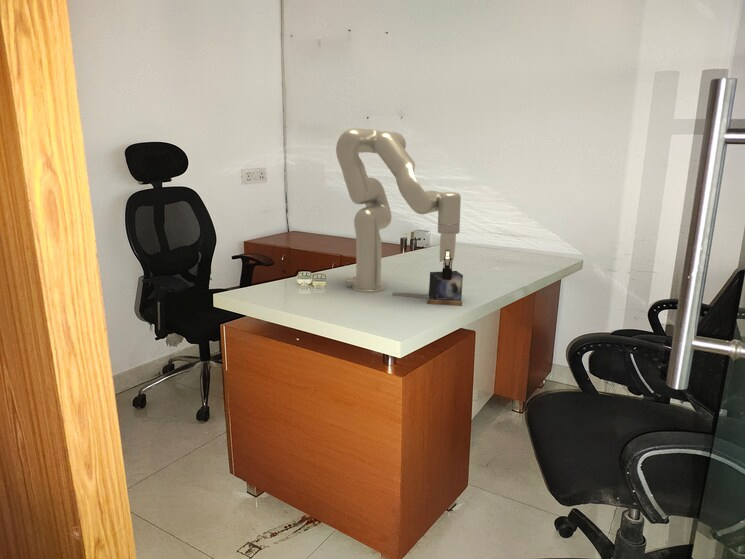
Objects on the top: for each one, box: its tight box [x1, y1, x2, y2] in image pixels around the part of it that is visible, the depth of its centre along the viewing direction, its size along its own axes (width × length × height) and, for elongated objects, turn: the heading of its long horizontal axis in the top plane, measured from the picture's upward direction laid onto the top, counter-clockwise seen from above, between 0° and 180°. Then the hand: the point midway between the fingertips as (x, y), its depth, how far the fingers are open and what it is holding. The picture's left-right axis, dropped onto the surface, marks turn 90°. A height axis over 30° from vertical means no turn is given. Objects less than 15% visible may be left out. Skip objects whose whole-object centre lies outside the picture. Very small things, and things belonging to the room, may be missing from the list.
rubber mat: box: [391, 292, 429, 300], centre depth 189 cm, size 13×11×1 cm
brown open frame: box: [426, 298, 463, 307], centre depth 187 cm, size 12×14×2 cm
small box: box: [427, 270, 464, 301], centre depth 186 cm, size 11×6×10 cm, turn 105°
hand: (447, 276), depth 184 cm, fingers open, 9 cm apart
